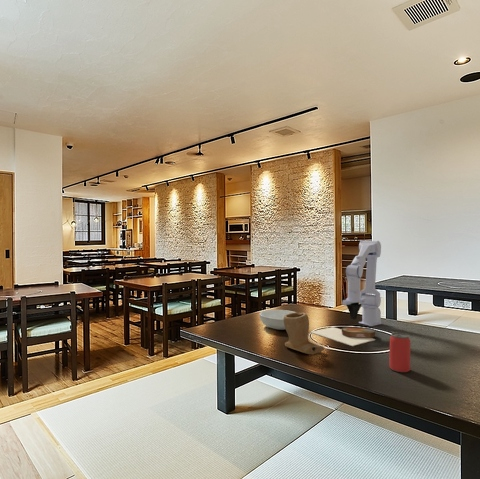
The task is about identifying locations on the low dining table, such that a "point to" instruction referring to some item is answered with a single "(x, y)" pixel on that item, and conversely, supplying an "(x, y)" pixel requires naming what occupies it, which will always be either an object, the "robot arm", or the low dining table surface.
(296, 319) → the tan boot-shaped piece
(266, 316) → the serving bowl
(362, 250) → the robot arm
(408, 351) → the beer can
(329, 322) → the low dining table surface
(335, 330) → the mat
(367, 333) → the tin
